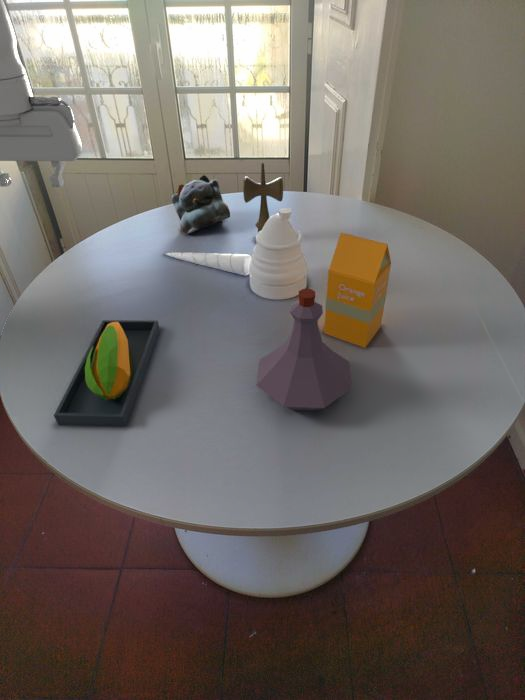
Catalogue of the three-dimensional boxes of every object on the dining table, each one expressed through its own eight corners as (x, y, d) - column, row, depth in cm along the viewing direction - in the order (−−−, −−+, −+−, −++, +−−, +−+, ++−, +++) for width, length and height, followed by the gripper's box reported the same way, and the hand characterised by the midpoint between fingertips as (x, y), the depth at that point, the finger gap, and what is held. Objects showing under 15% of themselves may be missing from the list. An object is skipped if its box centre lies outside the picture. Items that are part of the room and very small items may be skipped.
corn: (76, 380, 72) (88, 306, 87) (86, 414, 76) (95, 339, 92) (126, 375, 73) (129, 303, 88) (133, 408, 78) (134, 335, 93)
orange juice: (365, 349, 88) (379, 254, 75) (323, 334, 92) (329, 241, 79) (381, 327, 93) (396, 234, 80) (340, 314, 97) (349, 223, 84)
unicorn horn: (174, 249, 120) (171, 231, 117) (255, 270, 111) (254, 252, 108) (163, 257, 117) (159, 239, 114) (244, 280, 108) (243, 261, 105)
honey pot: (318, 282, 106) (322, 205, 95) (281, 307, 99) (281, 228, 88) (275, 264, 113) (274, 190, 101) (238, 286, 106) (232, 210, 94)
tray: (58, 426, 76) (53, 415, 74) (105, 330, 95) (102, 320, 93) (126, 427, 75) (122, 416, 73) (160, 330, 94) (158, 320, 93)
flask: (326, 351, 88) (334, 256, 75) (369, 413, 76) (387, 312, 63) (243, 372, 84) (235, 276, 71) (274, 440, 72) (272, 339, 59)
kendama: (247, 235, 125) (243, 158, 112) (283, 235, 124) (283, 158, 112) (245, 246, 120) (241, 167, 107) (283, 246, 120) (283, 167, 107)
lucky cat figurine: (175, 238, 125) (158, 185, 121) (188, 235, 136) (172, 187, 133) (228, 221, 122) (211, 167, 118) (237, 220, 133) (222, 170, 129)
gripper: (75, 92, 74) (96, 179, 83) (-50, 92, 75) (-15, 178, 84) (60, 102, 69) (84, 193, 78) (-73, 102, 70) (-34, 192, 79)
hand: (31, 185), depth 81 cm, fingers open, 8 cm apart
